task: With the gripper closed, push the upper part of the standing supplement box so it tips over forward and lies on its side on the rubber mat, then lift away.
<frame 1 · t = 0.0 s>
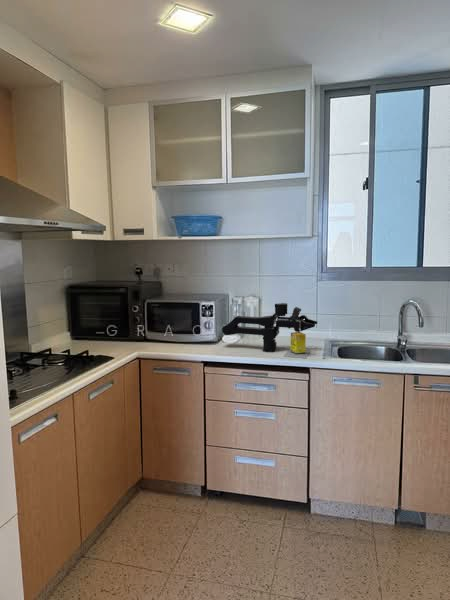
hand: (316, 324, 217), 17 cm above the table, tool horizontal, fingers open, 9 cm apart
supplement box: (297, 353, 222), resting on mat
mat: (296, 354, 219), on the table
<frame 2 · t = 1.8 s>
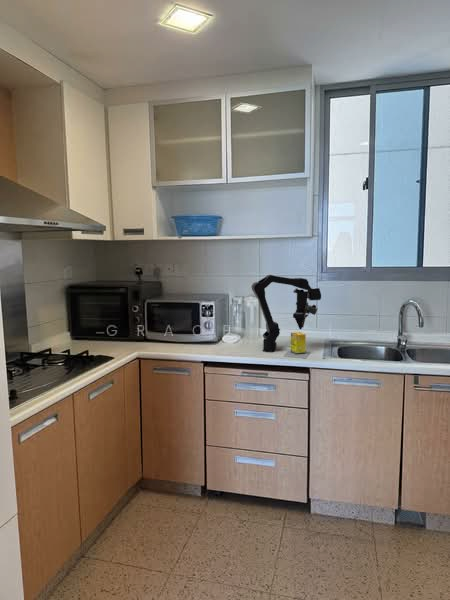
hand: (301, 328, 230), 12 cm above the table, tool pointing down, fingers open, 5 cm apart
nothing on the table moved.
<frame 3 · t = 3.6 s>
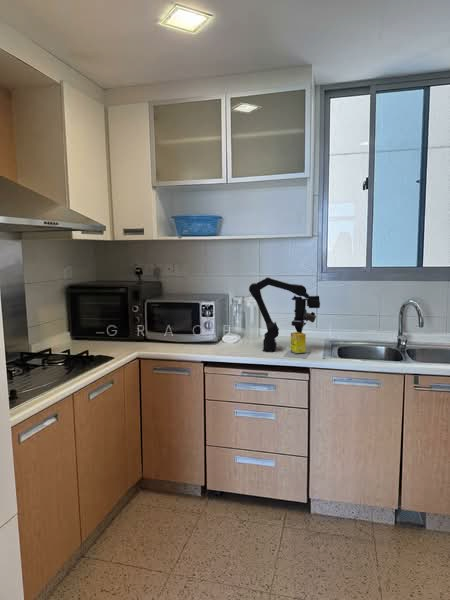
hand: (299, 336, 226), 8 cm above the table, tool pointing down, fingers closed
supplement box: (297, 353, 222), resting on mat, touching gripper
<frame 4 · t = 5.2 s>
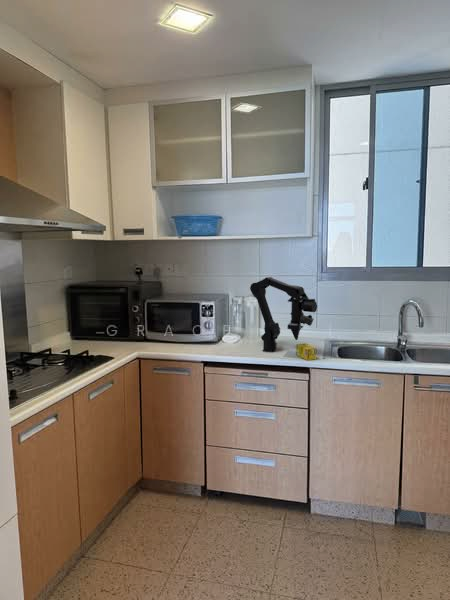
hand: (296, 339, 217), 9 cm above the table, tool pointing down, fingers closed
supplement box: (300, 349, 218), point 3 cm above the table, touching mat
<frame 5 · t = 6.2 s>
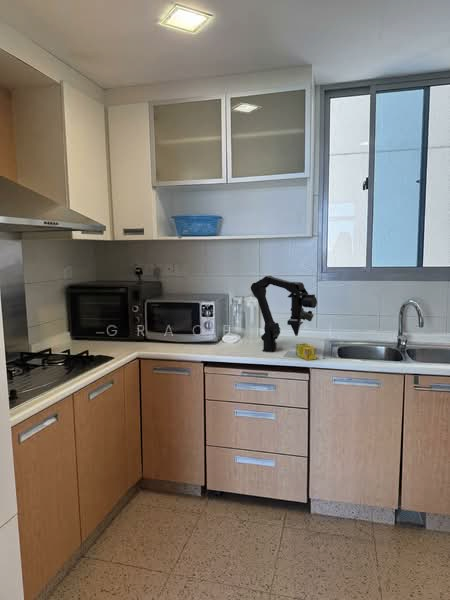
hand: (296, 335, 216), 11 cm above the table, tool pointing down, fingers closed
nothing on the table moved.
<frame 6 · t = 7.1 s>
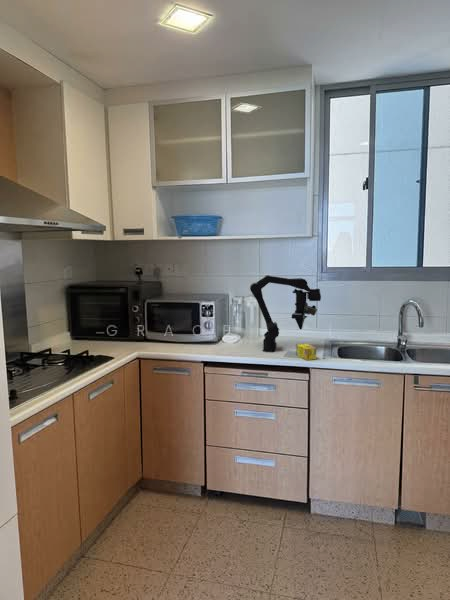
hand: (300, 329, 227), 12 cm above the table, tool pointing down, fingers closed
nothing on the table moved.
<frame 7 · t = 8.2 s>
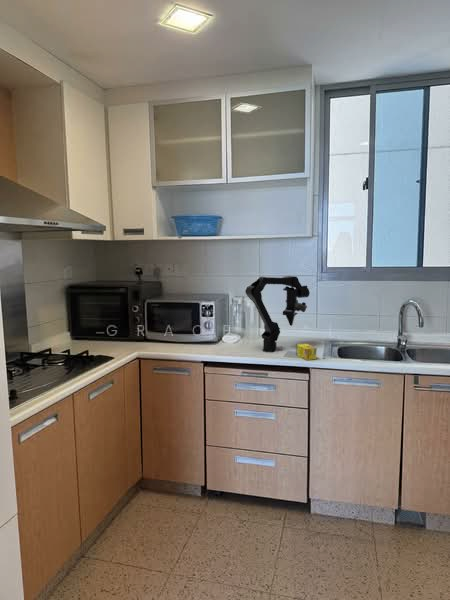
hand: (291, 325, 233), 13 cm above the table, tool pointing down, fingers closed
nothing on the table moved.
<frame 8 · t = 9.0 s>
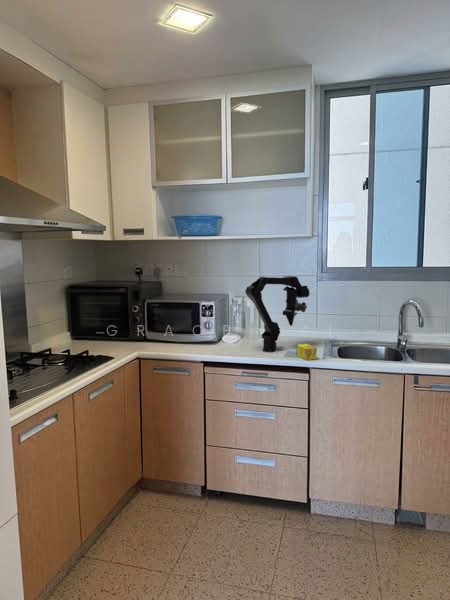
hand: (291, 325, 233), 13 cm above the table, tool pointing down, fingers closed
nothing on the table moved.
at the end: supplement box tilted 90°; supplement box inside the target area (2.2 cm from its centre), point 3.2 cm above the table; supplement box touching mat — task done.
